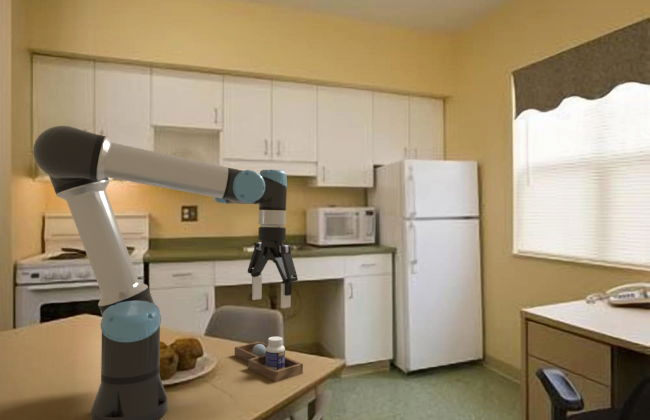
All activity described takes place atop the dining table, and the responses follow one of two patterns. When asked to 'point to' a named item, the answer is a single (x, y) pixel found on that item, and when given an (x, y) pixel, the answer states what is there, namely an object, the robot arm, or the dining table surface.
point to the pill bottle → (275, 353)
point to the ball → (259, 350)
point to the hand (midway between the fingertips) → (270, 303)
